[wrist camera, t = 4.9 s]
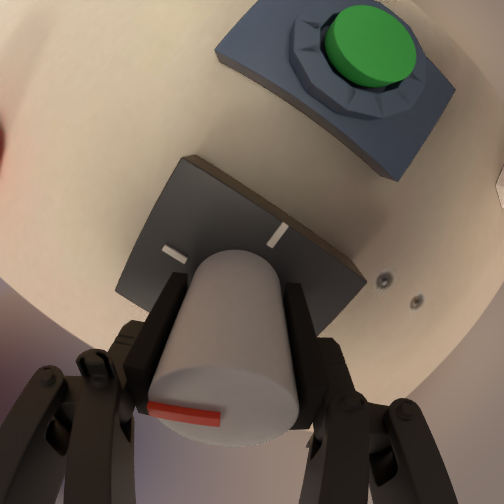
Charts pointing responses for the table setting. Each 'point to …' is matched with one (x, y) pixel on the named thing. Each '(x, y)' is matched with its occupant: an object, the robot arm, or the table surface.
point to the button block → (337, 81)
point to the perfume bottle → (501, 188)
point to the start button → (370, 47)
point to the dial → (228, 357)
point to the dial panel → (233, 242)
